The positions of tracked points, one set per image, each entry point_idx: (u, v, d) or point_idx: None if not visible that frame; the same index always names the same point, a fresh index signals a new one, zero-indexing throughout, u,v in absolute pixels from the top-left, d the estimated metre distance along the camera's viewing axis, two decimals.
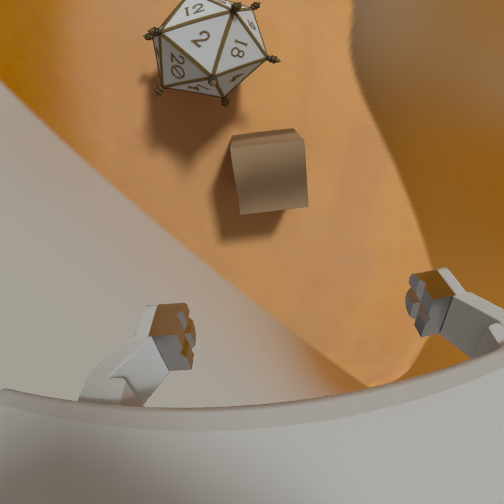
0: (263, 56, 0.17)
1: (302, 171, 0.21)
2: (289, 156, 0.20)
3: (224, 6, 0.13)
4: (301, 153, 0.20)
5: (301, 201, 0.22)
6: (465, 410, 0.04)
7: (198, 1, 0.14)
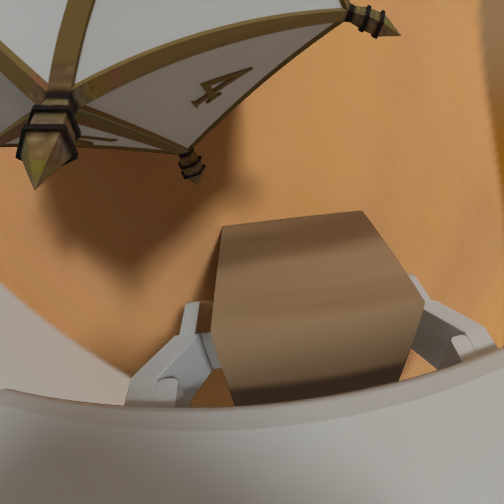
0: (338, 3, 0.03)
1: (397, 361, 0.08)
2: (378, 340, 0.07)
3: None
4: (408, 330, 0.07)
5: None
6: (465, 410, 0.04)
7: None
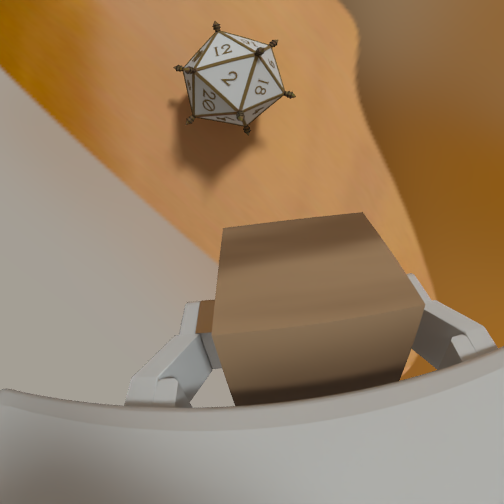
0: (281, 92, 0.21)
1: (398, 363, 0.08)
2: (378, 342, 0.07)
3: (249, 49, 0.17)
4: (408, 332, 0.07)
5: None
6: (465, 410, 0.04)
7: (225, 41, 0.18)
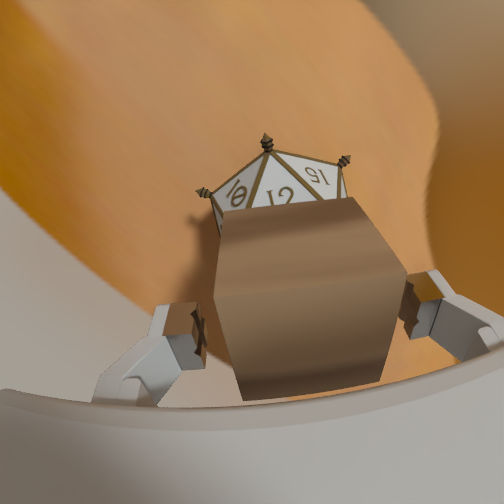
0: None
1: (386, 332, 0.09)
2: (365, 308, 0.08)
3: None
4: (393, 299, 0.08)
5: (369, 376, 0.10)
6: (465, 410, 0.04)
7: (284, 179, 0.13)
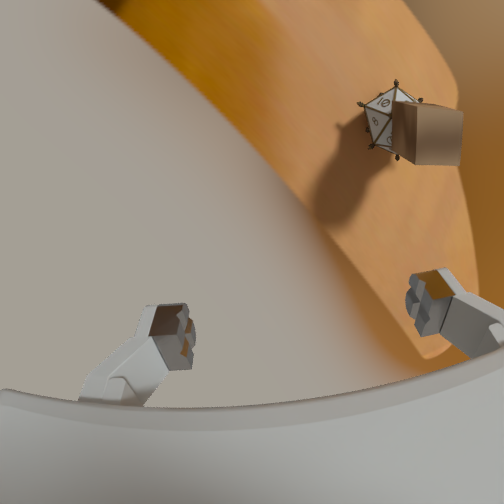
0: None
1: (459, 136, 0.21)
2: (453, 122, 0.20)
3: None
4: (460, 121, 0.20)
5: (456, 160, 0.22)
6: (465, 410, 0.04)
7: (405, 98, 0.26)
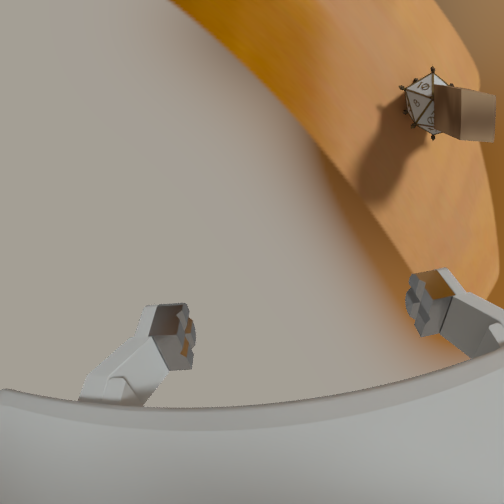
0: None
1: (493, 116, 0.21)
2: (489, 104, 0.21)
3: None
4: (494, 104, 0.20)
5: (491, 137, 0.22)
6: (465, 410, 0.04)
7: (441, 82, 0.26)
